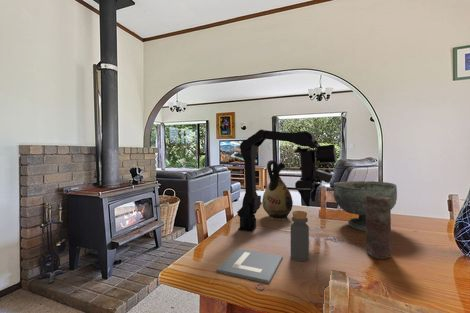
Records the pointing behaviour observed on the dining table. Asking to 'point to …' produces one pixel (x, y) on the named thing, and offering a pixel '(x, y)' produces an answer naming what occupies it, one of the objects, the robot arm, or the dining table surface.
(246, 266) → the pad
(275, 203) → the ceramic jug
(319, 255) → the dining table surface
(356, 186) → the decorative bowl
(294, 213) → the bottle
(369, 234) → the candle
